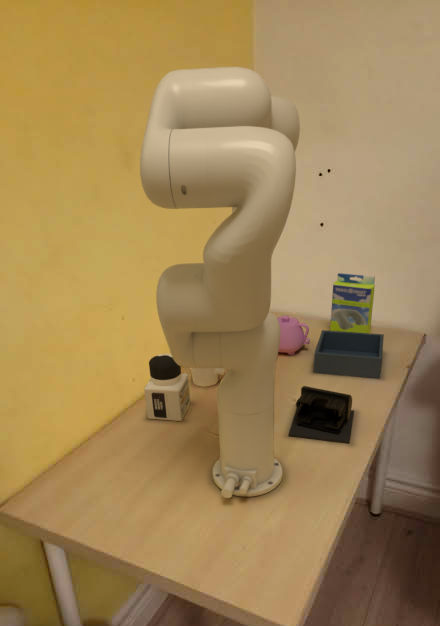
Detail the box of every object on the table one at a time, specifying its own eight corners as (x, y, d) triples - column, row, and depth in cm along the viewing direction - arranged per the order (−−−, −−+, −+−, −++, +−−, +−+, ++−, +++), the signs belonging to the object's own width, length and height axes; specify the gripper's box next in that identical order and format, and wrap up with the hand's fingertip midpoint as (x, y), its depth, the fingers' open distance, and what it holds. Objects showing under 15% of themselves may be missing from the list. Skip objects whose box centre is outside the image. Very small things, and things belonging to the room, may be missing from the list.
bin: (379, 378, 127) (382, 358, 125) (313, 372, 132) (314, 353, 129) (381, 353, 140) (383, 334, 137) (321, 348, 144) (321, 330, 141)
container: (182, 421, 114) (177, 367, 108) (147, 419, 116) (140, 365, 110) (190, 403, 121) (186, 351, 115) (158, 401, 123) (152, 349, 116)
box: (328, 337, 150) (332, 276, 141) (333, 332, 153) (336, 272, 145) (367, 343, 146) (373, 280, 137) (370, 337, 149) (376, 276, 140)
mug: (186, 384, 129) (182, 337, 124) (200, 372, 134) (197, 327, 129) (222, 392, 125) (220, 345, 119) (236, 380, 130) (234, 334, 124)
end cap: (351, 418, 112) (353, 389, 109) (341, 435, 106) (343, 406, 103) (305, 408, 116) (306, 380, 113) (293, 424, 111) (294, 396, 107)
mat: (349, 443, 105) (349, 441, 105) (288, 436, 108) (288, 434, 108) (354, 412, 115) (354, 410, 115) (297, 406, 118) (297, 404, 118)
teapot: (305, 360, 138) (307, 326, 134) (249, 354, 143) (248, 321, 138) (312, 343, 147) (314, 311, 142) (259, 338, 151) (259, 307, 147)
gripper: (241, 177, 111) (243, 260, 119) (218, 191, 96) (222, 284, 104) (277, 177, 109) (277, 261, 117) (259, 191, 94) (259, 286, 102)
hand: (251, 272), depth 111 cm, fingers open, 9 cm apart
